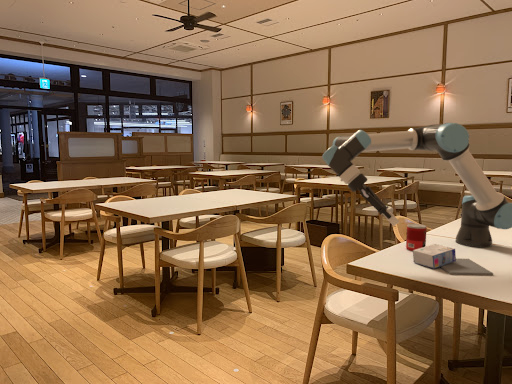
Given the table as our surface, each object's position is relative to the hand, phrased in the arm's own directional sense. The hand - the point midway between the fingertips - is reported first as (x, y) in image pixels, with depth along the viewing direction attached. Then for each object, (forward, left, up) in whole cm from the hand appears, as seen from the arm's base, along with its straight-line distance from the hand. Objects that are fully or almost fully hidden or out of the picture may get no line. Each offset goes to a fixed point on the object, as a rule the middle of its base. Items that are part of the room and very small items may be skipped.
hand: (396, 223), depth 151 cm
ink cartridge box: (-10, +2, -14) cm, 17 cm away
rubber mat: (-24, +2, -16) cm, 29 cm away
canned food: (-16, -23, -16) cm, 32 cm away
